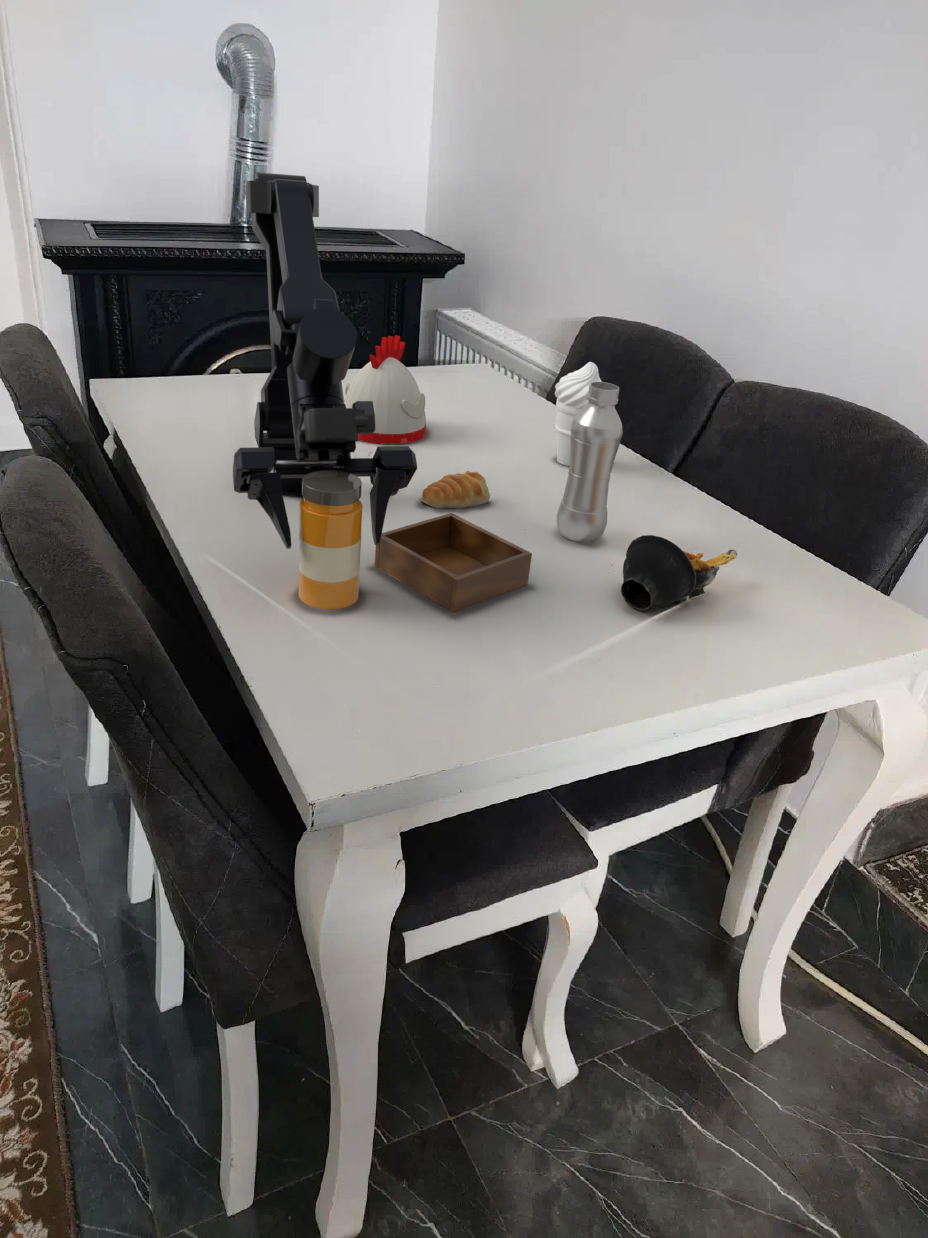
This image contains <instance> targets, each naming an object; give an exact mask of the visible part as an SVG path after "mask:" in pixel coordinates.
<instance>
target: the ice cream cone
mask: <svg viewBox="0 0 928 1238" xmlns="http://www.w3.org/2000/svg"><path fill="white" fill-rule="evenodd" d="M592 382H603V381H602V379H601V377H600V373H599V368H598V365H597V364H595V362H593V361H589V362H587V363H586V364H584V366H582V367H581V368H579V369H578V370H574V371H573V372H569V373H567V374H566V375H564V376H562V377H560V379H559V381H558V382H557V383H556V384H555V385H554V388H555V391H554V395H555V396H554V397H556V398H557V399H556V403H555V409H556V413H555V424H554V429H555V441H556V443H555V444H556V461H557V463H559V464H561V465H562V466H565V467H566V466H567V467H570V466H569V462H570V442H571V424H572V422H573V419H574V417H575V416H576V415H577V414H578V412H579V411H580V410H581V409H582V408H583V407H584V406H585V405H586V404H587V403H588V400H587V399H586V397H587V394H588V391H589V385H590V383H592Z"/></svg>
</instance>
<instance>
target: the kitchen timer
mask: <svg viewBox="0 0 928 1238" xmlns="http://www.w3.org/2000/svg"><path fill="white" fill-rule="evenodd" d="M405 348H406V342H405V341H401V336H400V335H397V334H395V335H394V336H391V335H388V336H387V337H385V336H382V337H381V342H380V346H379V345H375V355H376V356H375V355H374V354H369V360H370V361H368V362H367V363H366V364H365V365H364V366H363V367H362V368H361V369H360V370H359V371H358V372H357V374H355V376H354V378H353V379H352V381H351V383H349V382H347V383H346V384H345V389H344V394H345V395H344V404H346V408H352V404H353V403H355V402H356V401H373V407H374V413H375V431H374V432H373V433H371V434H358V441H361V442H365V443H370V444H378V445H379V444H380V445H403V444H410V443H415V442H417V441H420V440H421V439H423V438H424V437H425V435H426V428H427V419H426V411H425V408H426V396H425V393H421V390H420V388H419V385H418V383H417V381H416V379H415V377H414V376H413V374H412V372H411V371H410V370H409V368H408V367H406V365H405V364H403V363H402V362H401V360H402V357H403V354H404V350H405Z"/></svg>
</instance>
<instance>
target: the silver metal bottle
mask: <svg viewBox="0 0 928 1238" xmlns="http://www.w3.org/2000/svg"><path fill="white" fill-rule="evenodd" d="M619 394H620V387H619V386H618V385H616V384H613V383H610V382H605V381H602V382H592V383H590V385H589V391H588V394H587V397H586V399H587V400H588V403H587V404H586V405H585V406H584V407H583V408H582V409H581V410H580V411H579V412H578V414H577V415H576V416H575V417H574V419H573V422H572V424H571V442H570V462H569V466H568V473H567V479H566V483H565V488H564V491H563V495H562V499H561V501H560V503H559V507H558V509H557V513H556V527H557V529H558V531H559V533H560V535H561V536H563V537H564V538H566V539H568V540H571V541H574V542H579V543H592V542H596V541H598V540H599V539H600V538H601V537H602V536H603V535H604V533H605V530H606V527H607V525H608V498H609V486H610V480H611V474H612V473H613V467H614V462H615V461H616V456H617V453H618V449H619V448H620V445H621V441H622V437H623V434H624V430H623V423H622V421H621V418H620V415H619V414H618V412H617V409H616V407H615V406H616V405H618V403H619Z"/></svg>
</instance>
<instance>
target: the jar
mask: <svg viewBox="0 0 928 1238" xmlns="http://www.w3.org/2000/svg"><path fill="white" fill-rule="evenodd" d="M362 483H363V482H362V480H361V478H360V477H357V476H355V475H353V474H350V473H346V472H342V471H333V470H323V471H315V472H311V473H309V474H307V475H305V476H304V477H303V478H302V495H303V497H301V499H300V501H299V522H298V523H299V525H298V526H299V530H298V532H299V533H298V597H299V599H300V601H302V602H303V603H304V604H305V605H306V606H307V605H308V606H310V607H312V608H316V609H321V610H338V609H344V608H347V607H350V606H352V605H354V604H355V603H356V602H357V601H358V599H359V593H360V591H359V590H360V571H361V554H362V553H361V551H362V527H363V508H364V507H363V502H362V501H361V498H362V486H363V485H362Z"/></svg>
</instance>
